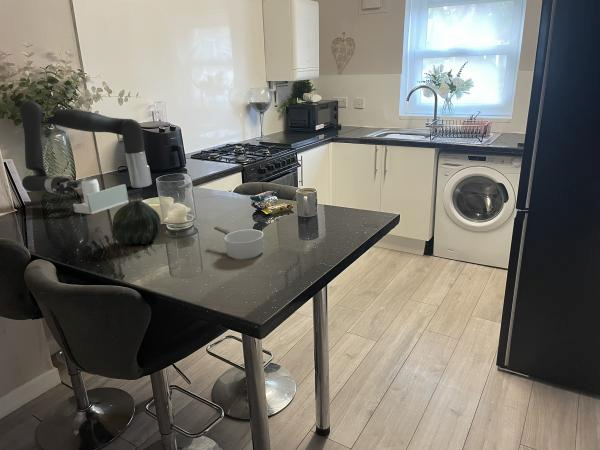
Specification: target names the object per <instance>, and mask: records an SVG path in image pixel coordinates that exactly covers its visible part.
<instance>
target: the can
mask: <svg viewBox="0 0 600 450" xmlns="http://www.w3.org/2000/svg"><path fill="white" fill-rule="evenodd" d="M81 180H82V183H81V184H82V188H81V190H82V195H83V200H84V202H83V203H85V205H88V201H87V197H86V195H88V194H92V193H95V192H99V191H101V190H100V185H99V181H98V179H97V177H92V176H91V177H85V178H84V177H83V178H82V179H81Z"/></svg>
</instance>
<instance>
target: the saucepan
mask: <svg viewBox="0 0 600 450" xmlns="http://www.w3.org/2000/svg"><path fill="white" fill-rule="evenodd" d="M213 230H216V231H218V232H220V233H223V234H224V237H223V240H224V242H225V250H226V255H227V256H228V257H230V258H232V259H236V260H249V259H253V258H256V257H258V256H259V255H260V254H262V253H263V252H264V251H265V249H264V232H263V231H262V230H260V229H259V230H257V229H240V230H235V231H232V232H231V231H230V230H227V229H224V228H222V227H219V226H214V227H213Z"/></svg>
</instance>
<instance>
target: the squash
mask: <svg viewBox="0 0 600 450" xmlns="http://www.w3.org/2000/svg"><path fill="white" fill-rule="evenodd" d="M111 222H112V223H111V224H112V226H111V231H112V235H113V237H114V239H115V240H116V241H117V242H118V243H119V244H122V245H133V244H134V245H138V244H141V245H147V244H149V243H151V242H153V241H155V240H156V239H157V237H158V236H159V234H160V230H161V226H162V225H161V224H162V221H161V216H160V215H159V213H158V212H157V210H155V209H154V208H153V207H151V206H150V205H149V204H148V203H146V202H144V201H142V200H140V199H137V200H132V201H131V202H130V201H129V202H127V203H126V204H124V205H123V206H122V207H120V208H118V210H117V211H116V212H115V214H114V215H113V218H112V221H111Z"/></svg>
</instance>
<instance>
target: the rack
mask: <svg viewBox="0 0 600 450" xmlns="http://www.w3.org/2000/svg"><path fill="white" fill-rule="evenodd" d="M86 197H87V201H88V205H85V202H83V203H73V204H72V206H73V210H74V213H79V214H86V215H94V214H97V213H100V212H103V211H106V210H109V209H111V208H112V209H113V208H115V207H118V206H121V205H125V204H128V203H130V200H129V196H128V191H127V186H126V183H124V184H119V185H116V186H113V187H112V186H111V187H109V188H107V189H102V190H100V191H99V192H95V193H92V194H88V195H86Z"/></svg>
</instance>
